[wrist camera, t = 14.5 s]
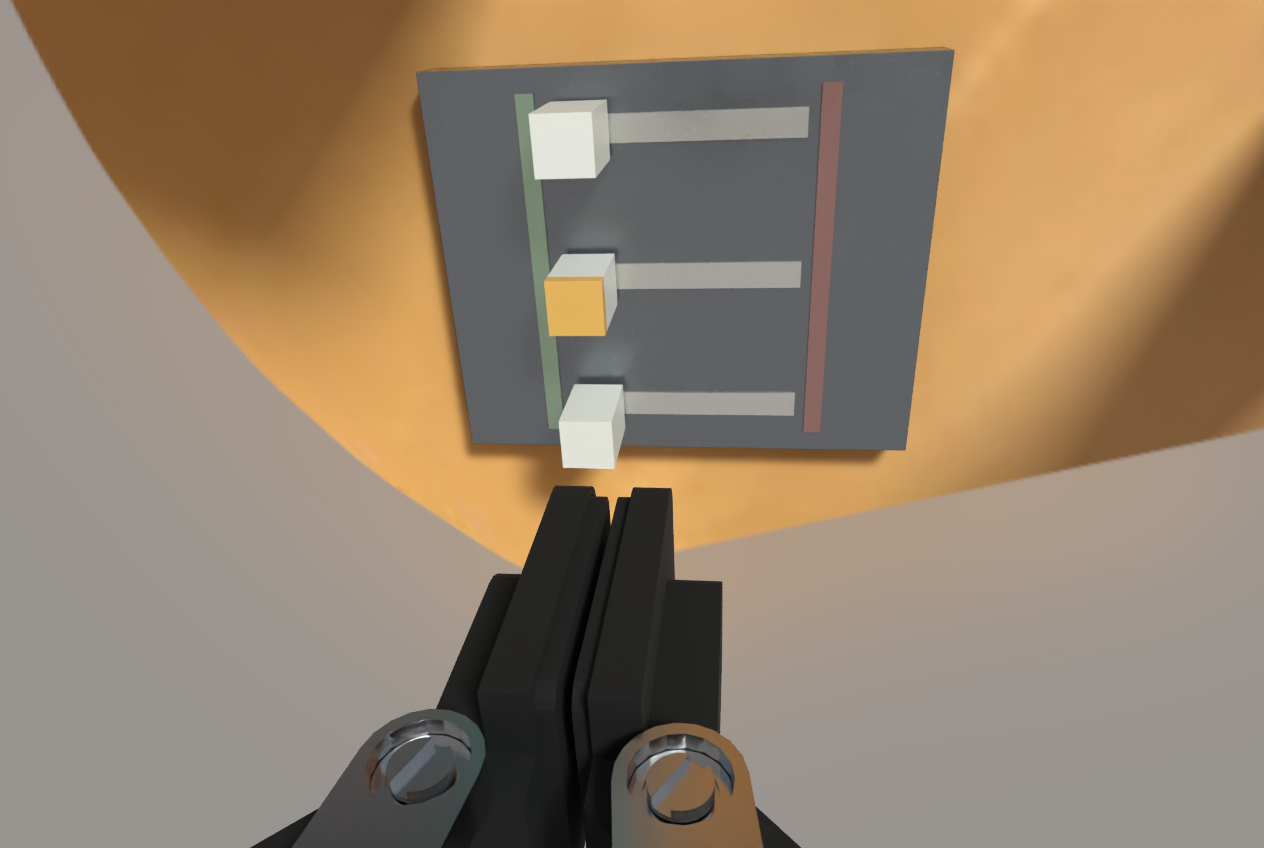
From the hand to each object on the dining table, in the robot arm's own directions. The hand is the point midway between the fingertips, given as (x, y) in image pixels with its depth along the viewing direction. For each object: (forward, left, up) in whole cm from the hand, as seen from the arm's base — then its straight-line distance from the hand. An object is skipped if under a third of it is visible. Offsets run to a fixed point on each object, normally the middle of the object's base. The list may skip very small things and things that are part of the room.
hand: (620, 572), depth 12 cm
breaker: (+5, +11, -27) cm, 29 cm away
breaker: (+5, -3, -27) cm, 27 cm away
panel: (+1, +4, -29) cm, 29 cm away
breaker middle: (+5, +4, -27) cm, 27 cm away
